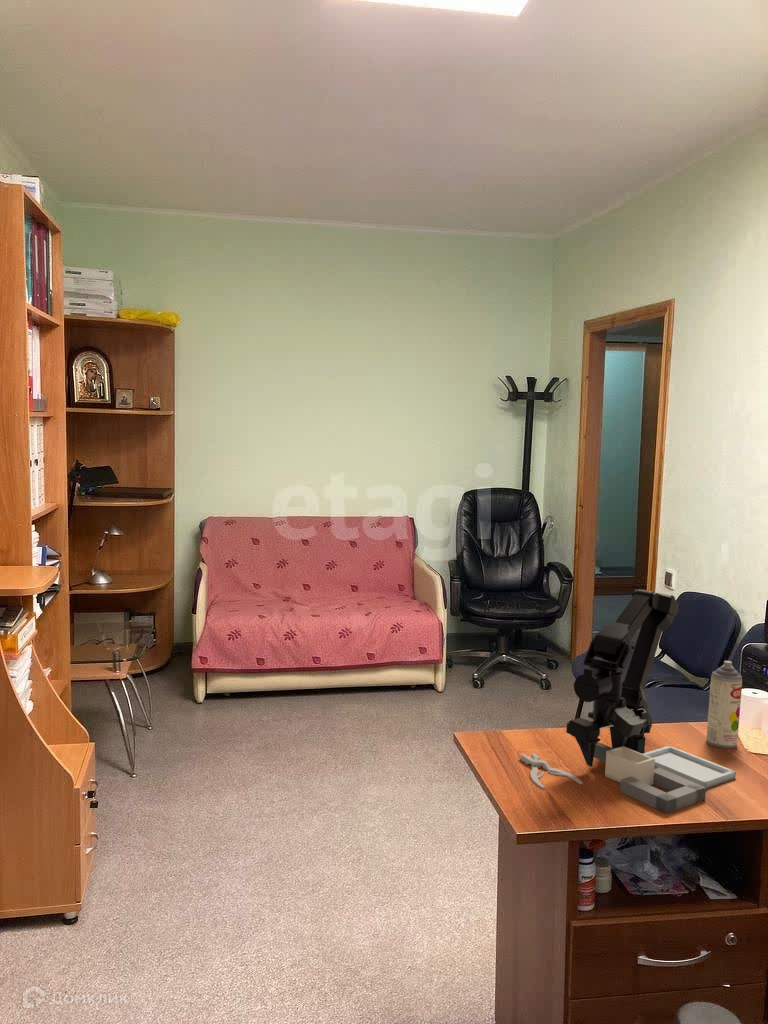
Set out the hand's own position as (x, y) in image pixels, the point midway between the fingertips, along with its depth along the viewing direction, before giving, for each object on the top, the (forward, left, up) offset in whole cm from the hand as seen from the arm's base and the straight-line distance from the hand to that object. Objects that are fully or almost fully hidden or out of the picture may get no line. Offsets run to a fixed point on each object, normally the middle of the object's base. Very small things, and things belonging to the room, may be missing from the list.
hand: (603, 761), depth 174 cm
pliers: (-5, -13, -2) cm, 14 cm away
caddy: (+4, 0, -2) cm, 5 cm away
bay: (+15, 0, -1) cm, 15 cm away
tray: (+9, +16, -2) cm, 19 cm away
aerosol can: (+4, +38, -2) cm, 38 cm away
